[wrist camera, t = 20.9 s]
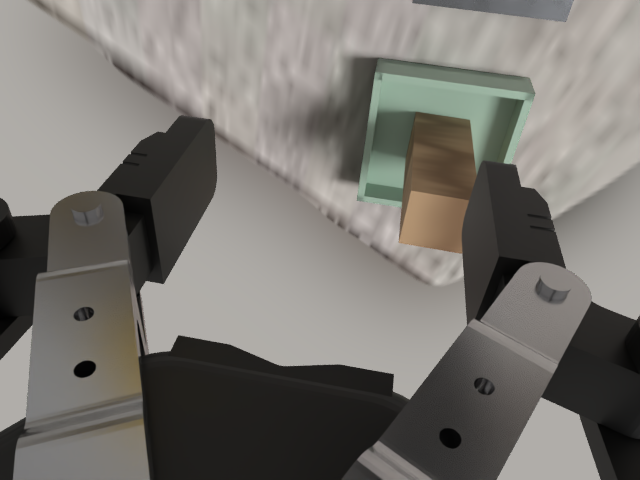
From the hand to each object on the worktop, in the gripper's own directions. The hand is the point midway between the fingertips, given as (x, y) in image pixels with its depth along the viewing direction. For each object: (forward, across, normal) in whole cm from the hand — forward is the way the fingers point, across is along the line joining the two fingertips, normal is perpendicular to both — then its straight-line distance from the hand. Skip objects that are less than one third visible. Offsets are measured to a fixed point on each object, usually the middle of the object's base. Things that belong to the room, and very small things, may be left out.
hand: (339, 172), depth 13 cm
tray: (+32, -6, +15) cm, 35 cm away
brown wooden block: (+31, -6, +15) cm, 35 cm away
